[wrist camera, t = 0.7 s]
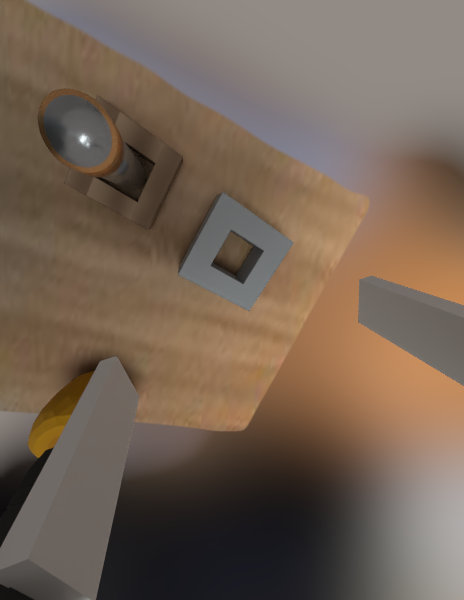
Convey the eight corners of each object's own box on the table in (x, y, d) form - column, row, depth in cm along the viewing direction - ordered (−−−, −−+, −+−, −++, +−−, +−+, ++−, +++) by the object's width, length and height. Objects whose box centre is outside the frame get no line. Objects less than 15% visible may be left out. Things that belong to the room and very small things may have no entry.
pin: (104, 179, 28) (28, 143, 14) (119, 144, 27) (52, 69, 13) (139, 200, 29) (101, 186, 16) (154, 167, 28) (127, 123, 15)
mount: (74, 185, 27) (64, 183, 25) (105, 105, 25) (97, 94, 23) (150, 228, 31) (147, 229, 29) (182, 161, 29) (182, 156, 27)
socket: (178, 266, 34) (178, 274, 29) (217, 195, 31) (223, 191, 27) (241, 299, 38) (249, 311, 33) (279, 239, 35) (293, 242, 31)
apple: (148, 377, 40) (134, 444, 28) (111, 414, 41) (83, 494, 29) (92, 345, 35) (47, 410, 24) (53, 388, 37) (-8, 470, 25)
